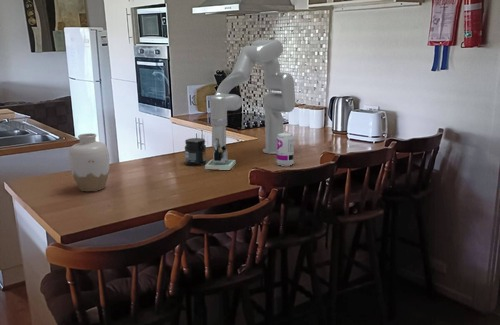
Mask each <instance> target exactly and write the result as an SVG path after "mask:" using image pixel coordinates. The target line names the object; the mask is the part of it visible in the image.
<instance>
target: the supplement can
mask: <svg viewBox="0 0 500 325" xmlns="http://www.w3.org/2000/svg"><path fill="white" fill-rule="evenodd" d="M294 144H295V137H294V134H293V133H290V132H283V133H279V134H278V136H277V154H276V164H277V166H279V165H281V166H280V167H290V165H292V164H293V165H294V163H295V162H294V161H295V159H294V158H295V156H294V155H295V154H294V152H295V150H294V149H295V148H294V147H295V145H294ZM293 165H292V166H293Z"/></svg>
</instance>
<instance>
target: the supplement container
mask: <svg viewBox="0 0 500 325" xmlns="http://www.w3.org/2000/svg"><path fill="white" fill-rule="evenodd" d="M184 142H185V146H184V154H185V155H184V157H185V158H184V159H185V164H186V165H187V164H188V166H191V165H199V166H202V165H201V164H203V165H206V164H207V163H208V161H207V146H206V144H205V143H206V140H205V138H201V137H194V138H193V137H192V138H187V139H185V141H184Z"/></svg>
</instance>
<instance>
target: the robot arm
mask: <svg viewBox="0 0 500 325" xmlns="http://www.w3.org/2000/svg"><path fill="white" fill-rule="evenodd" d="M283 52H284V45H283V43H282V42H281V40H279V39H257V40H254V41H253V42H251V45H246V46H243V47H242V48H241V50H240V52H239V55H238V57H237V60H236V63H235V65H234V66H233V70H232V71H231V72H230V74H228V75H227V76H226V77H225V78H224V79H223V80H222V81H221V83H220V84H219V85H218V87H217V90H216V92H215V94H214V95H213V96H211V97H210V100H209V102H210V124H211V127H212V129H211V147H212V148H213V152H214V160H215V161H221V152H220V150H221V148H222V150H227V145H226V144H227V128H226V127H227V126H228V111H237V110H239V109H240V108H241V107H242V105H243V100H242V98H241V96H239V95H238V94H234V93H230V92H231V90H232V89H234V88H235V87H237V86H239V85H242V84H243V83H245V82H247V81H248V80H249V79H250V77H251V74H252V71H253V69H254V66H255V64H258V65H259V64H262V69H263V79H264V80H263V81H264V85H265V89H266V90H268V91H273V92H269V93H267V94H266V95H264V97H263V100H262V102H263V103H262V104H263V108H264V116H265V117H264V118H265V120H264V121H265V122H264V123H265V148H263V149H262V152H263V153H264V154H270V155H277V136H278V134H279V133H284V117H283V114H282V113H291V112H293V110H294V109H295V107H296V92H295V91H296V89H295V88H296V87H295V79H294V77H293V75H292V74H291V73H290V72H289V73H288V72H282V71H281V68H280V61H279V57H280V56H281V55H282V53H283ZM218 148H219V149H218Z"/></svg>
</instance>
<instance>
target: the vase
mask: <svg viewBox="0 0 500 325" xmlns="http://www.w3.org/2000/svg"><path fill="white" fill-rule="evenodd" d="M77 138H78V140H79V142H78V143H75V144H73V145H72V146H71V147H70V148H69V152H68V163H69V166H70V171H71V174H72V178H73V179H74V181H75V183H76V185H77V187H78V188H79V190H80V191H81V190H82V191H81V192H83V191H95V192H99V191H98V190H100V191H102V190H104V189H105V187H106V185H107V181H108V178H109V172H110V165H111V163H110V160H111V158H110V152H109V149H108V146H107V145H106V144H105V143H104V142H101V141H97V140H96V138H97V134H96V133H82V134H78V135H77ZM103 188H104V189H103ZM101 189H102V190H101Z"/></svg>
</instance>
